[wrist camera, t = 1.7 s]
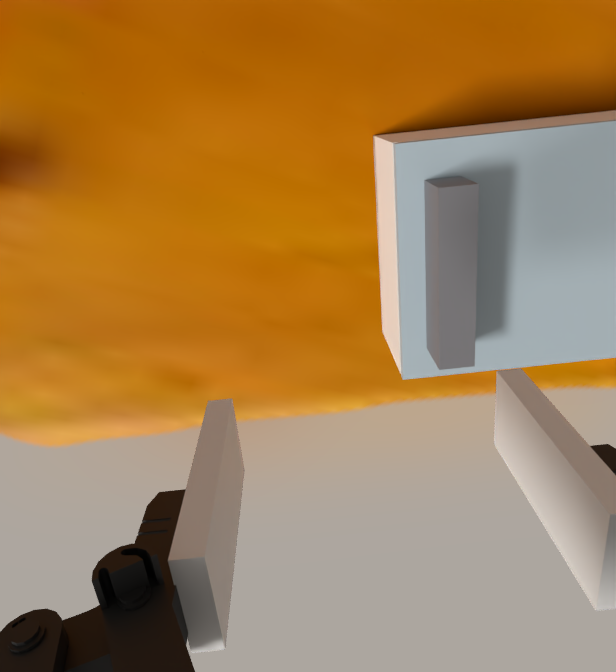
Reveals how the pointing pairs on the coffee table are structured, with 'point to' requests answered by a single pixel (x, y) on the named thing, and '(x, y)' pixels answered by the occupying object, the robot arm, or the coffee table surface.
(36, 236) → the coffee table surface
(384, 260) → the box
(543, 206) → the lid
